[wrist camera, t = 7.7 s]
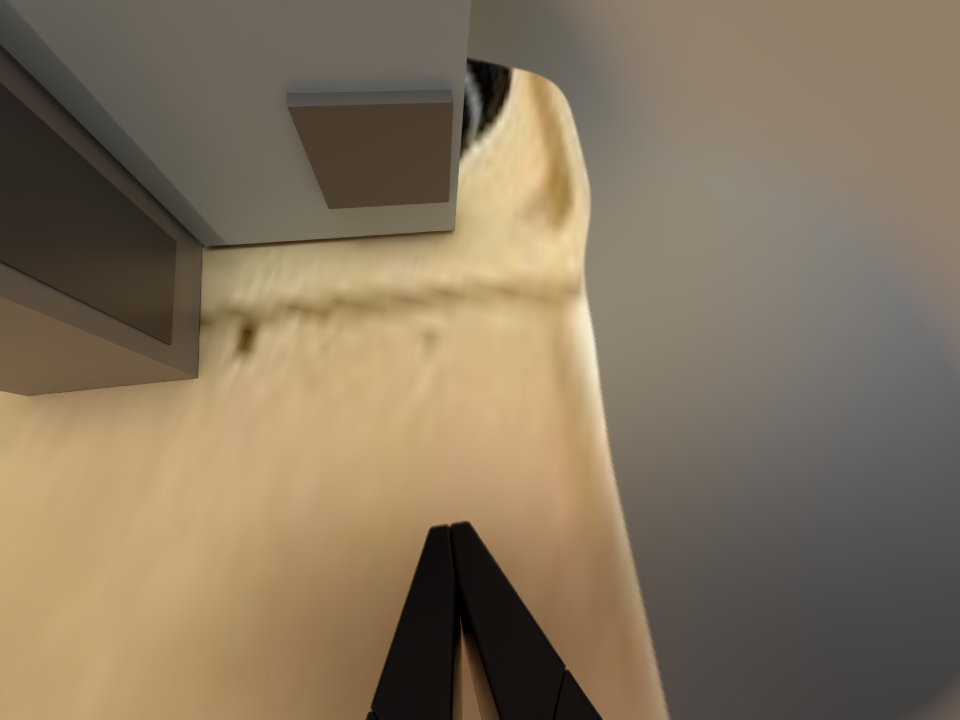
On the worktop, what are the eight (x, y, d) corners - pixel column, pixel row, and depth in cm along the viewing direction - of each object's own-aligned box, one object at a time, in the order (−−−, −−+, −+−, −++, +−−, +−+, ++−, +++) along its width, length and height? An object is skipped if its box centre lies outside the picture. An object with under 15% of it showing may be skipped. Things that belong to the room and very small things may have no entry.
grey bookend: (455, 238, 25) (474, 1, 12) (204, 256, 23) (-68, -2, 11) (434, 85, 28) (432, -232, 15) (209, 89, 26) (1, -265, 14)
